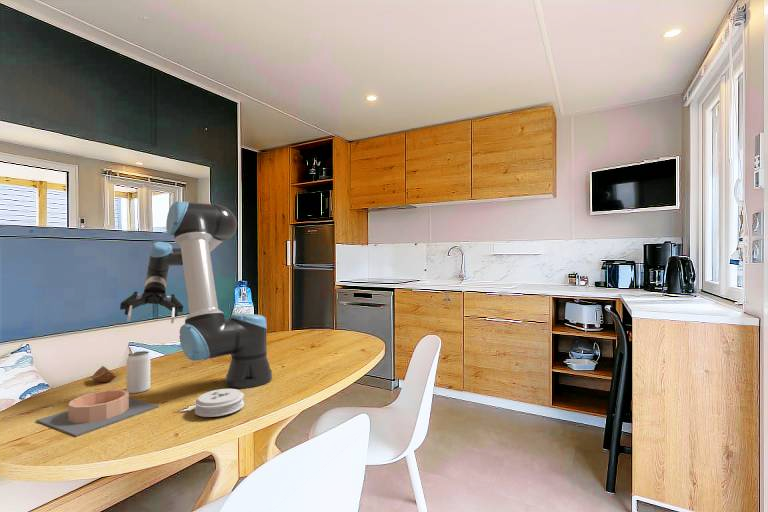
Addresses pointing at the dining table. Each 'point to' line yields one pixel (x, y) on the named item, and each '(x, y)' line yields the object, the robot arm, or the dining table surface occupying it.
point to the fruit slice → (103, 375)
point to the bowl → (98, 406)
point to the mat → (77, 429)
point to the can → (138, 372)
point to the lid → (219, 402)
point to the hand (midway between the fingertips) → (151, 319)
